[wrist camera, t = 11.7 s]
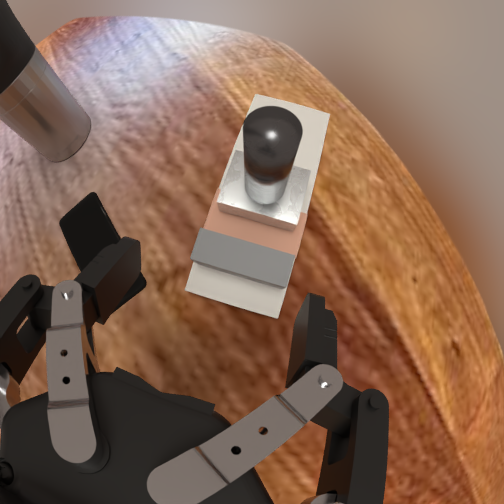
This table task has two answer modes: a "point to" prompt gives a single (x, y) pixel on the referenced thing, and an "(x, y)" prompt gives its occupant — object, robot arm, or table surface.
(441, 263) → the table surface
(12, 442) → the robot arm
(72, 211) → the smartphone
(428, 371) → the table surface
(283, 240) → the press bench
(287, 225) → the press jaw
